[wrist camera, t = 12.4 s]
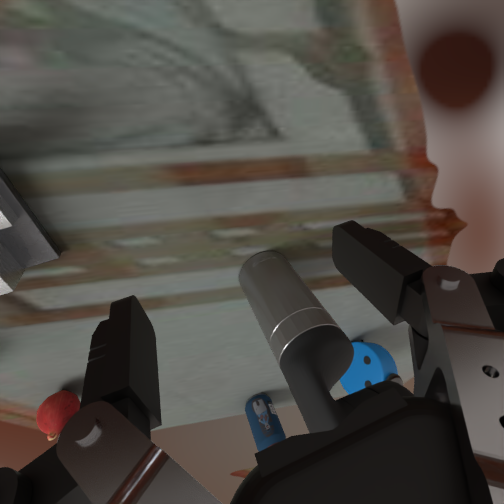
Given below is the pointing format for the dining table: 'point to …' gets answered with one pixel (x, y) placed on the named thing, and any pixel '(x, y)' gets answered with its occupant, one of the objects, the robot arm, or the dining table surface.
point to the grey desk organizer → (20, 237)
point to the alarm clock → (369, 367)
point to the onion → (57, 412)
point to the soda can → (263, 421)
